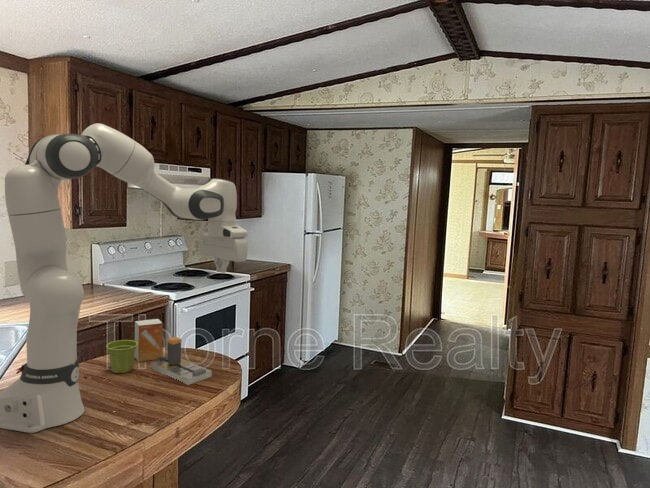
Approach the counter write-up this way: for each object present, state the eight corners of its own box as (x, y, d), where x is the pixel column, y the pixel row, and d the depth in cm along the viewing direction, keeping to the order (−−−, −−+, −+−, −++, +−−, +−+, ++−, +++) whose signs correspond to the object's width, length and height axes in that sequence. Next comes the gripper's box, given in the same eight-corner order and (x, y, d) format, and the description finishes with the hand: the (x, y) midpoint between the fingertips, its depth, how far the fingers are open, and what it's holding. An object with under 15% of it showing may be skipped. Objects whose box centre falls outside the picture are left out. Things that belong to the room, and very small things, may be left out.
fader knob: (181, 363, 156) (181, 338, 155) (172, 365, 154) (173, 341, 153) (175, 360, 158) (175, 336, 157) (167, 363, 156) (167, 338, 155)
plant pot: (143, 369, 156) (144, 343, 155) (118, 378, 148) (117, 351, 147) (126, 362, 161) (126, 338, 160) (100, 371, 153) (100, 344, 152)
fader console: (212, 377, 151) (212, 367, 151) (188, 385, 144) (188, 375, 144) (173, 361, 164) (173, 352, 164) (150, 368, 157) (150, 359, 156)
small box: (138, 362, 161) (138, 325, 160) (134, 357, 166) (134, 320, 165) (162, 359, 166) (163, 322, 164) (158, 353, 171) (158, 318, 170)
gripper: (193, 227, 156) (193, 269, 157) (236, 232, 144) (235, 277, 145) (209, 227, 161) (208, 267, 162) (251, 232, 149) (250, 275, 150)
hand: (221, 272), depth 154 cm, fingers closed
